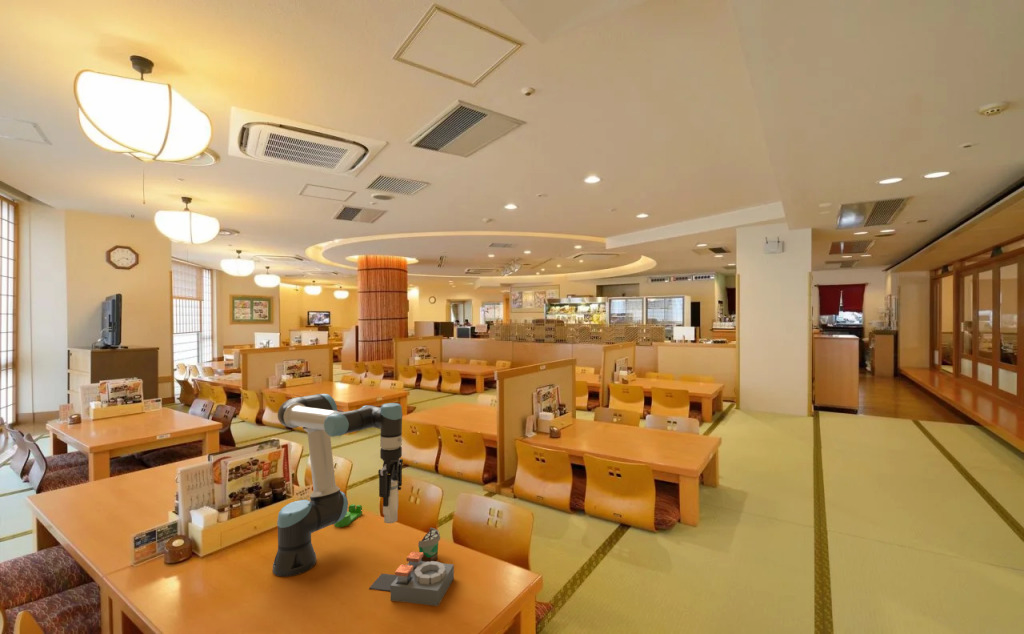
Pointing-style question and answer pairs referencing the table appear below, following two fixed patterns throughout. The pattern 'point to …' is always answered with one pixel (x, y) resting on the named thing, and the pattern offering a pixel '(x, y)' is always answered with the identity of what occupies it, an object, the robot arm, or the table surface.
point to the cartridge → (393, 503)
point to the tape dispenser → (350, 515)
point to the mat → (383, 582)
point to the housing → (425, 584)
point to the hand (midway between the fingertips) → (390, 511)
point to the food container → (429, 545)
